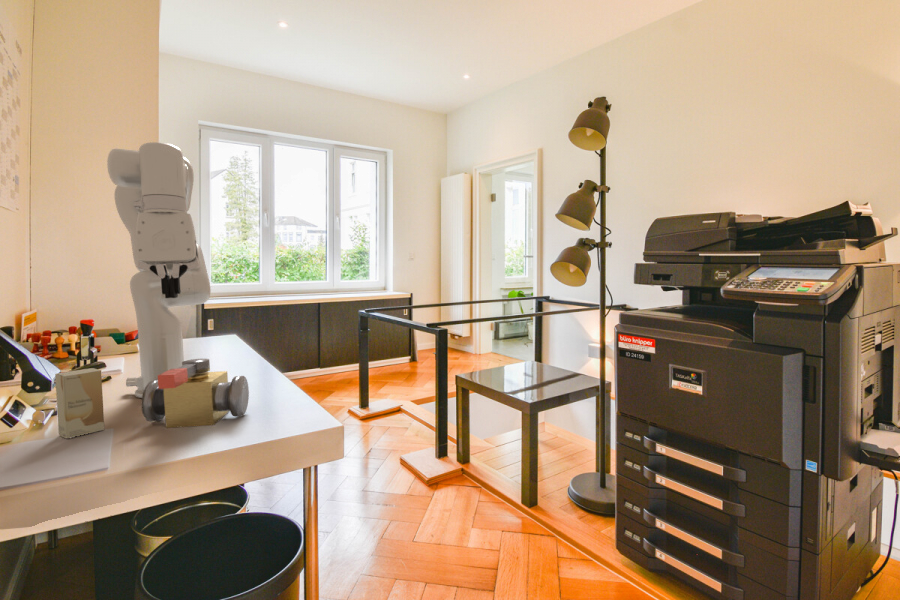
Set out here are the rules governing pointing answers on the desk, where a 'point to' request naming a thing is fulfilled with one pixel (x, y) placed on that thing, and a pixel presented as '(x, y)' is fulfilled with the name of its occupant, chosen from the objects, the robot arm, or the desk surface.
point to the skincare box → (79, 402)
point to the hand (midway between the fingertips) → (171, 297)
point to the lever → (182, 373)
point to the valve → (196, 400)
